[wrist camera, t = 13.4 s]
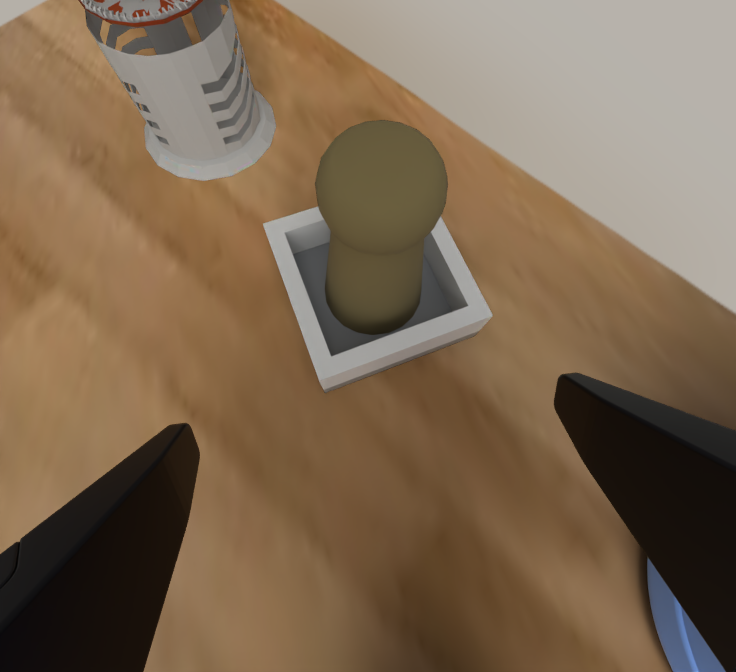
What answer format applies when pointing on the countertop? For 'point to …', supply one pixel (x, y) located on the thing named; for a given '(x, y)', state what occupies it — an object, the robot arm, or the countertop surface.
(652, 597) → the water jug
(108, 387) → the countertop surface
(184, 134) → the french press
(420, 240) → the cork
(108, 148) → the countertop surface
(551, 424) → the countertop surface
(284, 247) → the grey square open box
